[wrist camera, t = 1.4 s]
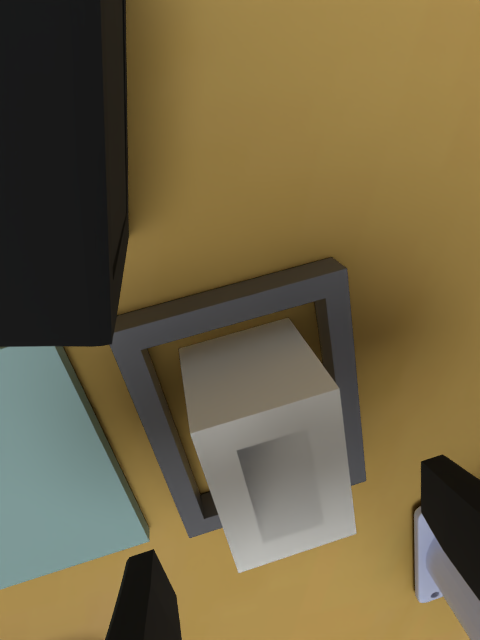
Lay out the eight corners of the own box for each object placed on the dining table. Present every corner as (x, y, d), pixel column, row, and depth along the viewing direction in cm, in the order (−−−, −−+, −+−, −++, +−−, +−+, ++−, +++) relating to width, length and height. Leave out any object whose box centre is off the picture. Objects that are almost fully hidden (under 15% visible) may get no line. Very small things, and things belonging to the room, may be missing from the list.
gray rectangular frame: (331, 257, 14) (347, 268, 13) (353, 460, 18) (366, 480, 17) (108, 318, 13) (105, 335, 12) (186, 513, 18) (189, 538, 17)
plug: (287, 316, 15) (339, 388, 11) (308, 439, 18) (356, 533, 14) (178, 347, 14) (190, 433, 10) (217, 468, 17) (238, 573, 13)
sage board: (53, 326, 13) (49, 335, 13) (149, 528, 18) (149, 541, 17) (-180, 390, 12) (-195, 402, 12) (-18, 582, 17) (-23, 596, 17)
